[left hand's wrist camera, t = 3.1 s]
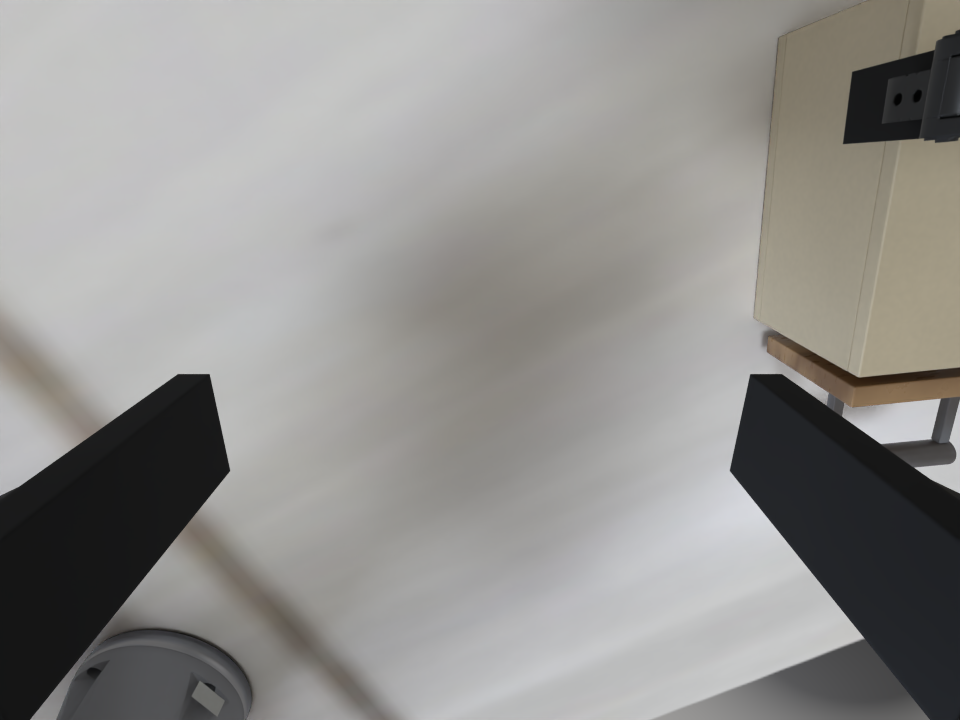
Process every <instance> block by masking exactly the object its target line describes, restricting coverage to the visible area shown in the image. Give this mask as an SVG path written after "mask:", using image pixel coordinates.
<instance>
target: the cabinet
mask: <svg viewBox="0 0 960 720" xmlns="http://www.w3.org/2000/svg"><path fill="white" fill-rule="evenodd" d="M957 30H960V0H868V1H865V2H863V3H860V4H858V5H856V6H853V7H851V8H848V9H846V10H843V11H841V12H839V13H836V14H834V15H831V16H829V17H826V18H824V19H822V20H819V21H817V22H814V23H812V24H810V25H807V26H805V27H802V28H800V29H797V30H795V31H793V32H790V33H788V34H786V35H783V36H781V37H779V42H778V53H777V64H776V75H775V86H774V98H773V109H772V120H771V131H770V142H769V153H768V165H767V176H766V187H765V198H764V209H763V220H762V232H761V243H760V254H759V265H758V276H757V287H756V299H755V310H754V319H756V320H758V321H759V322H761V323H763V324H765V325H766V326H768V327H770V328H772V329H773V330H775V331H777V332H779V333H780V334H782V335H784V336H786V337H787V338H789V339H791V340H793V341H795V342H796V343H798V344H800V345H802V346H803V347H805V348H807V349H809V350H810V351H812V352H814V353H816V354H818V355H819V356H821V357H823V358H825V359H826V360H828V361H830V362H832V363H833V364H835V365H837V366H839V367H840V368H842V369H844V370H846V371H848V372H850V373H852V374H853V375H855V376H857V377H868V376H878V375H888V374H898V373H908V372H917V371H927V370H937V369H947V368H957V367H960V138H959V139H958V141H952V142H941V143H935V140H930V141H924V139H911V140H897V141H883V142H869V143H855V144H843V138H844V131H845V123H846V115H847V108H848V100H849V92H850V84H851V77H852V72H853V71H857V70H861V69H864V68H868V67H872V66H876V65H879V64H883V63H887V62H891V61H895V60H898V59H902V58H906V57H910V56H914V55H917V54H921V53H925V52H929V51H932V50H935V45H936V41H937V40H940V39H942V37H943V36H946V35H951V34H955V32H956V31H957Z"/></svg>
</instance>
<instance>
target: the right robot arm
mask: <svg viewBox="0 0 960 720" xmlns="http://www.w3.org/2000/svg"><path fill="white" fill-rule="evenodd" d="M959 138H960V30H957V31H956V32H955V34H951V35H946V36H943V37H942V39H940V40H937V41H936V45H935V50H932V51H929V52H925V53H921V54H917V55H914V56H910V57H906V58H902V59H898V60H895V61H891V62H887V63H883V64H879V65H876V66H872V67H868V68H864V69H861V70H857V71H853V72H852V77H851V84H850V92H849V100H848V108H847V115H846V123H845V131H844V138H843V144H855V143H869V142H883V141H897V140H911V139H924V141H930V140H935V143H941V142H952V141H958V139H959Z"/></svg>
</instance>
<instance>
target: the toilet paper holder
mask: <svg viewBox="0 0 960 720" xmlns="http://www.w3.org/2000/svg"><path fill="white" fill-rule="evenodd" d="M767 352H768V353H769V354H771V355H772V356H774V357H775V358H777V359H778V360H780V361H781V362H783V363H784V364H786V365H787V366H789V367H791V368H792V369H794V370H795V371H797V372H798V373H800V374H801V375H803V376H804V377H806V378H807V379H809V380H810V381H812V382H813V383H815V384H816V385H818V386H819V387H821V388H823V389H824V390H826V391H827V392H829V395H828V402H827V407H829V408H830V409H832V410H833V411H835V412H836V413H837V414H839V415H840V416H842V412H843V406H844V403H845V404H847V405H848V406H850V407H860V406H870V405H881V404H891V403H901V402H911V401H921V400H931V399H941V401H940V405H939V409H938V413H937V417H936V421H935V425H934V429H933V433H932V437H931V439H930V440H920V441H909V442H899V443H889V444H881V445H883V446H884V447H885V448H887V449H888V450H890V451H891V452H892V453H894V454H895V455H897V456H898V457H899V458H901V459H902V460H904V461H905V462H907V463H908V464H909V465H911V466H912V467H924V466H934V465H945V464H951V463H953V462H954V461H955V459H956V450H955V448H954V446H953V445H952V444H951V443H950V442H949V439H950V435H951V431H952V427H953V424H954V420H955V416H956V412H957V408H958V404H959V401H960V367H957V368H947V369H937V370H927V371H917V372H908V373H898V374H888V375H878V376H868V377H857V376H855V375H853V374H852V373H850V372H848V371H846V370H844V369H842V368H840V367H839V366H837V365H835V364H833V363H832V362H830V361H828V360H826V359H825V358H823V357H821V356H819V355H818V354H816V353H814V352H812V351H810V350H809V349H807V348H805V347H803V346H802V345H800V344H798V343H796V342H795V341H793V340H791V339H789V338H787V337H786V336H784V335H774V336H769V337H768V345H767Z"/></svg>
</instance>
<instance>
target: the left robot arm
mask: <svg viewBox="0 0 960 720" xmlns="http://www.w3.org/2000/svg"><path fill="white" fill-rule="evenodd" d="M229 472H230V468H229V463H228V458H227V454H226V449H225V444H224V439H223V435H222V430H221V425H220V421H219V416H218V411H217V407H216V402H215V397H214V393H213V388H212V383H211V378H210V374H178V375H176V376H175V377H173V378H172V379H171V380H169V381H168V382H166V383H165V384H164V385H162V386H161V387H159V388H158V389H156V390H155V391H154V392H152V393H151V394H149V395H148V396H147V397H145V398H144V399H142V400H141V401H140V402H138V403H137V404H135V405H134V406H133V407H131V408H130V409H128V410H127V411H125V412H124V413H123V414H121V415H120V416H118V417H117V418H116V419H114V420H113V421H111V422H110V423H109V424H107V425H106V426H104V427H103V428H101V429H100V430H99V431H97V432H96V433H94V434H93V435H92V436H90V437H89V438H87V439H86V440H85V441H83V442H82V443H80V444H79V445H77V446H76V447H75V448H73V449H72V450H70V451H69V452H68V453H66V454H65V455H63V456H62V457H61V458H59V459H58V460H56V461H55V462H53V463H52V464H51V465H49V466H48V467H46V468H45V469H44V470H42V471H41V472H39V473H38V474H37V475H35V476H34V477H32V478H31V479H29V480H28V481H27V482H25V483H24V484H22V485H21V486H20V487H18V488H16V489H14V490H11V491H9V492H7V493H5V494H3V495H1V496H0V720H30V719H31V718H32V716H33V715H34V714H35V713H36V711H37V710H38V709H39V708H40V707H41V705H42V704H43V703H44V702H45V700H46V699H47V698H48V697H49V695H50V694H51V693H52V692H53V690H54V689H55V688H56V687H57V685H58V684H59V683H60V682H61V680H62V679H63V678H64V677H65V675H66V674H67V673H68V672H69V670H70V669H71V668H72V667H73V666H74V664H75V663H76V662H77V661H78V659H79V658H80V657H81V656H82V654H83V653H84V652H85V651H86V649H87V648H88V647H89V646H90V644H91V643H92V642H93V641H94V639H95V638H96V637H97V636H98V634H99V633H100V632H101V631H102V629H103V628H104V627H105V626H106V624H107V623H108V622H109V621H110V620H111V618H112V617H113V616H114V615H115V613H116V612H117V611H118V610H119V608H120V607H121V606H122V605H123V603H124V602H125V601H126V600H127V598H128V597H129V596H130V595H131V593H132V592H133V591H134V590H135V588H136V587H137V586H138V585H139V583H140V582H141V581H142V580H143V579H144V577H145V576H146V575H147V574H148V572H149V571H150V570H151V569H152V567H153V566H154V565H155V564H156V562H157V561H158V560H159V559H160V557H161V556H162V555H163V554H164V552H165V551H166V550H167V549H168V547H169V546H170V545H171V544H172V542H173V541H174V540H175V539H176V537H177V536H178V535H179V534H180V533H181V531H182V530H183V529H184V528H185V526H186V525H187V524H188V523H189V521H190V520H191V519H192V518H193V516H194V515H195V514H196V513H197V511H198V510H199V509H200V508H201V506H202V505H203V504H204V503H205V501H206V500H207V499H208V498H209V496H210V495H211V494H212V493H213V492H214V490H215V489H216V488H217V487H218V485H219V484H220V483H221V482H222V480H223V479H224V478H225V477H226V475H227V474H228V473H229ZM730 472H731V473H732V474H733V475H734V477H735V478H736V479H737V480H738V482H739V483H740V484H741V485H742V487H743V488H744V489H745V490H746V492H747V493H748V494H749V495H750V496H751V498H752V499H753V500H754V501H755V503H756V504H757V505H758V506H759V508H760V509H761V510H762V511H763V513H764V514H765V515H766V516H767V518H768V519H769V520H770V521H771V523H772V524H773V525H774V526H775V528H776V529H777V530H778V531H779V533H780V534H781V535H782V536H783V537H784V539H785V540H786V541H787V542H788V544H789V545H790V546H791V547H792V549H793V550H794V551H795V552H796V554H797V555H798V556H799V557H800V559H801V560H802V561H803V562H804V564H805V565H806V566H807V567H808V569H809V570H810V571H811V572H812V574H813V575H814V576H815V577H816V579H817V580H818V581H819V582H820V583H821V585H822V586H823V587H824V588H825V590H826V591H827V592H828V593H829V595H830V596H831V597H832V598H833V600H834V601H835V602H836V603H837V605H838V606H839V607H840V608H841V610H842V611H843V612H844V613H845V615H846V616H847V617H848V618H849V620H850V621H851V622H852V623H853V624H854V626H855V627H856V628H857V629H858V631H859V632H860V633H861V634H862V636H863V637H864V638H865V639H866V641H867V642H868V643H869V644H870V646H871V647H872V648H873V649H874V651H875V652H876V653H877V654H878V656H879V657H880V658H881V659H882V661H883V662H884V663H885V664H886V665H887V667H888V668H889V669H890V670H891V672H892V673H893V674H894V675H895V677H896V678H897V679H898V680H899V682H900V683H901V684H902V685H903V687H904V688H905V689H906V690H907V692H908V693H909V694H910V695H911V697H912V698H913V699H914V700H915V702H916V703H917V704H918V705H919V706H920V708H921V709H922V710H923V711H924V713H925V714H926V715H927V716H928V718H929V719H930V720H960V493H957V492H955V491H953V490H951V489H949V488H947V487H945V486H943V485H941V484H939V483H937V482H934V481H932V480H931V479H929V478H928V477H926V476H925V475H923V474H922V473H921V472H919V471H918V470H916V469H915V468H914V467H912V466H911V465H909V464H908V463H907V462H905V461H904V460H902V459H901V458H899V457H898V456H897V455H895V454H894V453H892V452H891V451H890V450H888V449H887V448H885V447H884V446H883V445H881V444H880V443H878V442H877V441H875V440H874V439H873V438H871V437H870V436H868V435H867V434H866V433H864V432H863V431H861V430H860V429H859V428H857V427H856V426H854V425H853V424H851V423H850V422H849V421H847V420H846V419H844V418H843V417H842V416H840V415H839V414H837V413H836V412H835V411H833V410H832V409H830V408H829V407H827V406H826V405H825V404H823V403H822V402H820V401H819V400H818V399H816V398H815V397H813V396H812V395H811V394H809V393H808V392H806V391H805V390H804V389H802V388H801V387H799V386H798V385H796V384H795V383H794V382H792V381H791V380H789V379H788V378H787V377H785V376H784V375H782V374H750V378H749V383H748V388H747V393H746V397H745V402H744V407H743V411H742V416H741V421H740V425H739V430H738V435H737V439H736V444H735V449H734V454H733V458H732V463H731V468H730ZM251 702H252V696H251V690H250V686H249V683H248V681H247V679H246V677H245V676H244V674H243V672H242V671H241V670H240V668H239V667H238V666H237V665H236V664H235V663H234V662H233V661H232V660H231V659H230V658H229V657H228V656H226V655H225V654H224V653H222V652H221V651H219V650H218V649H216V648H215V647H213V646H211V645H209V644H207V643H205V642H203V641H201V640H198V639H196V638H193V637H190V636H187V635H183V634H179V633H175V632H169V631H160V630H140V631H132V632H127V633H123V634H120V635H117V636H114V637H112V638H110V639H108V640H106V641H104V642H103V643H101V644H100V645H99V646H98V647H96V648H95V649H94V651H93V652H92V653H91V654H90V655H89V657H88V658H87V659H86V660H85V662H84V663H83V664H82V665H81V667H80V668H79V670H78V671H77V673H76V675H75V677H74V679H73V680H72V682H71V684H70V687H69V689H68V692H67V694H66V697H65V699H64V702H63V704H62V707H61V709H60V712H59V714H58V717H57V719H56V720H246V718H247V716H248V713H249V711H250V708H251Z"/></svg>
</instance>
